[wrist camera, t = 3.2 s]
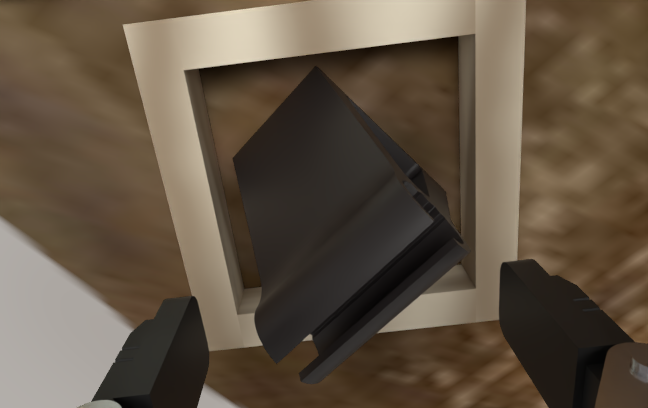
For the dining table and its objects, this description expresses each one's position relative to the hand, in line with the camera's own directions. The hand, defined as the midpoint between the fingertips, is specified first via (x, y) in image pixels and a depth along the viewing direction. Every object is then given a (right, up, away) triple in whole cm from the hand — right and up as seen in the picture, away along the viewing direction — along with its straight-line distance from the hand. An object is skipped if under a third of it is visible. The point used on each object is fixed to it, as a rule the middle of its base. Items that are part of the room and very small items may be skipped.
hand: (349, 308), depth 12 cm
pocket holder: (0, +4, +11) cm, 12 cm away
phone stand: (0, +4, +12) cm, 12 cm away
